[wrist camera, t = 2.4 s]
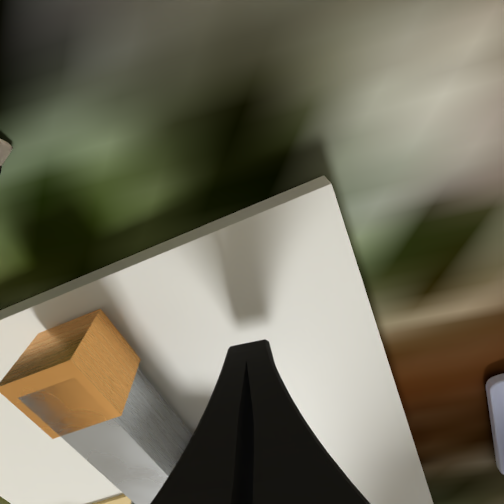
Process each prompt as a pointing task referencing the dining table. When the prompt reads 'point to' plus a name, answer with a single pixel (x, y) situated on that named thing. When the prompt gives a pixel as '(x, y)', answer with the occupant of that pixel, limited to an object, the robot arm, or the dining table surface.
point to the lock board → (230, 344)
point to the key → (99, 403)
